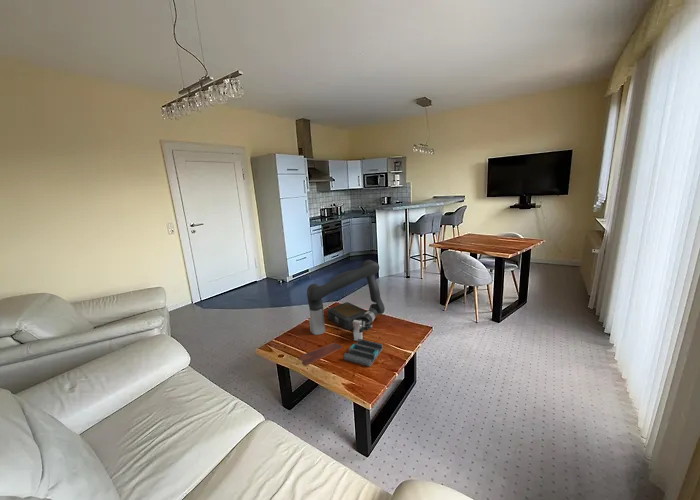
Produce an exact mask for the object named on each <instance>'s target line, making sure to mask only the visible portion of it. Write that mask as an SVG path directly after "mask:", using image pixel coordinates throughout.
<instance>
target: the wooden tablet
mask: <svg viewBox="0 0 700 500" xmlns="http://www.w3.org/2000/svg"><path fill="white" fill-rule="evenodd" d="M342 348H343V346H342V345H340V344H338V343H336V342H333V343H332V342H331V343H329V344H326V345H324V346H321V347H319V348H315V349H313V350H311V351H309V352H306V353H304V354H301V355H300V356H298V360H299V361H301V363H302V364H303V365H304V366H309V365H310V364H313V363H316V362H317V361H320V360H322V359H324V358H325V357H328V356H330V355H332V354H333V353H335V352H337V351H338V350H339V351H340V350H341V349H342Z"/></svg>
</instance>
